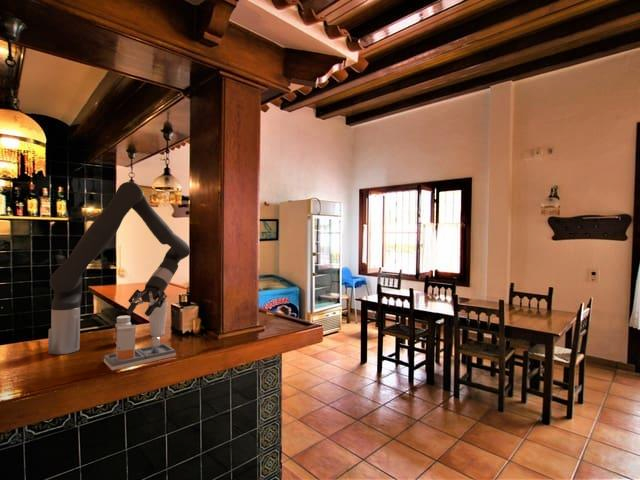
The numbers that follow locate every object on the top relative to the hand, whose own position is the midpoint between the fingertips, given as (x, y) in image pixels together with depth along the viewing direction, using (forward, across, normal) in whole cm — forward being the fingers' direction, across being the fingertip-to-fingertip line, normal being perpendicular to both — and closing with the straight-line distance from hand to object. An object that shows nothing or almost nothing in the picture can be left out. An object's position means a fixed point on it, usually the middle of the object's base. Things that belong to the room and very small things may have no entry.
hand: (137, 314), depth 133 cm
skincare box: (+15, 0, +7) cm, 16 cm away
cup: (-7, -14, +31) cm, 34 cm away
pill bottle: (+3, -19, +21) cm, 28 cm away
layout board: (+12, +3, +11) cm, 17 cm away
